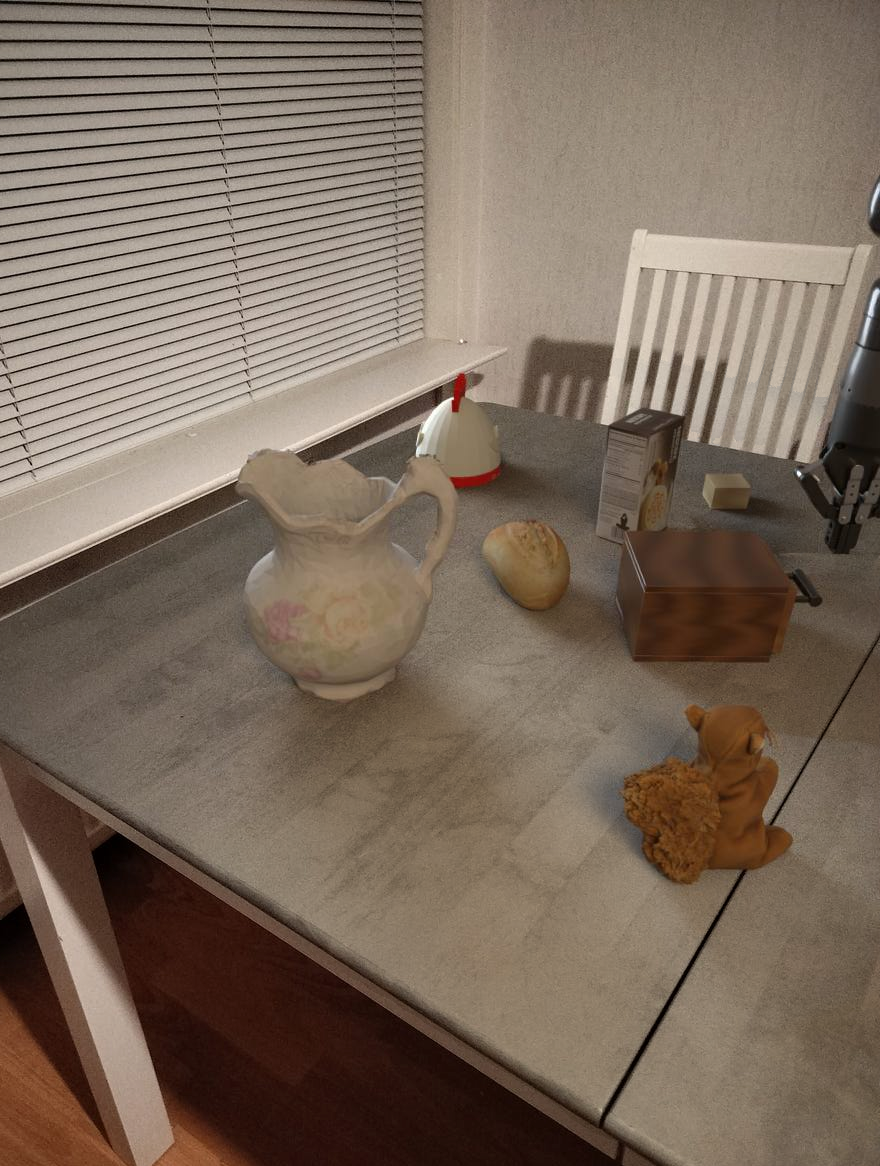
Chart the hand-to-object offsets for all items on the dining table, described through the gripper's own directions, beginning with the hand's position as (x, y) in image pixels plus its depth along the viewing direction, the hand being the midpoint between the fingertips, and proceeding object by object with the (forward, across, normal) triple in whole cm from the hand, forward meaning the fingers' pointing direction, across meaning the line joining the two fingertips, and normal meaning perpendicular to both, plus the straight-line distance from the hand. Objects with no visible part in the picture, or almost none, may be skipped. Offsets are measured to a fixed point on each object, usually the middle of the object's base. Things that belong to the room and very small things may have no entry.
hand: (837, 550), depth 92 cm
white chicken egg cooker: (+10, -40, +47) cm, 63 cm away
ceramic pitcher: (+10, -52, -8) cm, 54 cm away
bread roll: (+10, -32, +10) cm, 35 cm away
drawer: (+9, -11, 0) cm, 14 cm away
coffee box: (+10, -16, +25) cm, 32 cm away
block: (+11, -2, +31) cm, 33 cm away
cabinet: (+10, -14, 0) cm, 18 cm away
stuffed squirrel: (+10, -22, -33) cm, 41 cm away
